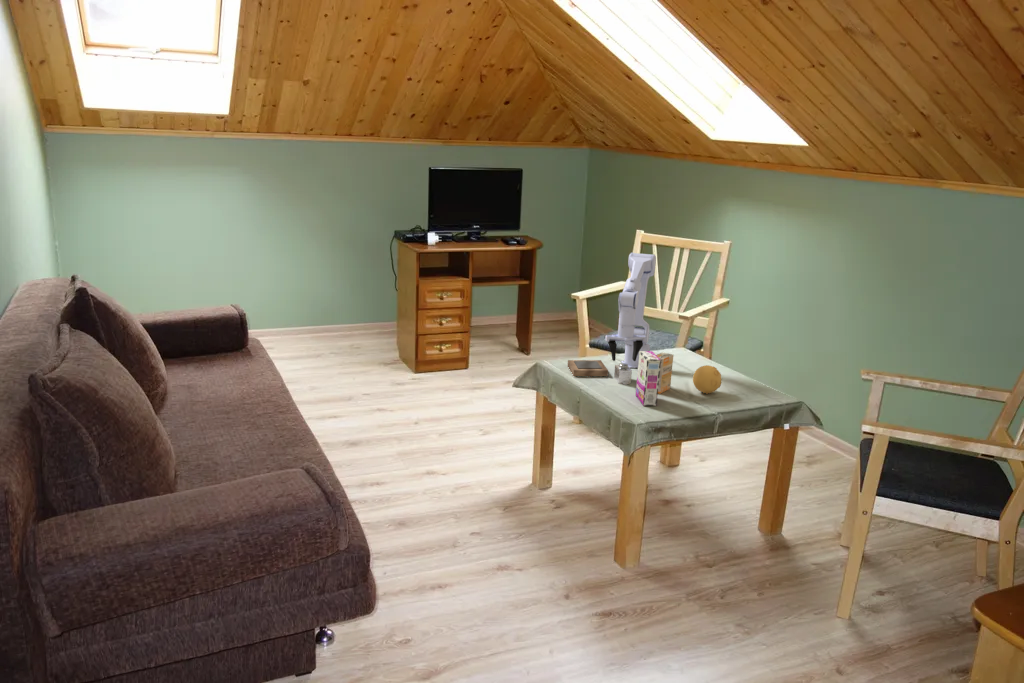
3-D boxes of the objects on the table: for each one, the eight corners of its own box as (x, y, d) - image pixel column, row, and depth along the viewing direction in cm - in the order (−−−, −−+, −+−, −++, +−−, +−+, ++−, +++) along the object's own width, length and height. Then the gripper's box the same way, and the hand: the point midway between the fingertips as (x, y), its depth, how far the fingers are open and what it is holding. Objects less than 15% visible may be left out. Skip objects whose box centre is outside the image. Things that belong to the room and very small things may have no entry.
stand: (600, 366, 310) (600, 359, 309) (607, 376, 297) (608, 369, 297) (567, 366, 308) (567, 359, 308) (573, 376, 296) (573, 369, 295)
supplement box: (660, 394, 280) (663, 359, 276) (648, 391, 282) (651, 356, 279) (671, 389, 286) (674, 354, 282) (658, 386, 289) (662, 351, 285)
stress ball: (690, 396, 282) (707, 385, 274) (684, 371, 286) (701, 359, 278) (712, 398, 286) (730, 387, 278) (706, 373, 290) (724, 361, 282)
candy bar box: (657, 406, 268) (661, 359, 263) (643, 406, 267) (647, 359, 263) (649, 395, 278) (652, 350, 274) (635, 395, 278) (638, 350, 273)
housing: (625, 376, 298) (626, 360, 297) (631, 384, 289) (632, 368, 288) (613, 376, 298) (614, 360, 296) (619, 384, 289) (620, 368, 287)
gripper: (609, 326, 283) (606, 363, 287) (649, 327, 285) (646, 363, 288) (605, 322, 290) (602, 357, 293) (643, 322, 291) (640, 357, 295)
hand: (623, 360), depth 291 cm, fingers open, 7 cm apart
